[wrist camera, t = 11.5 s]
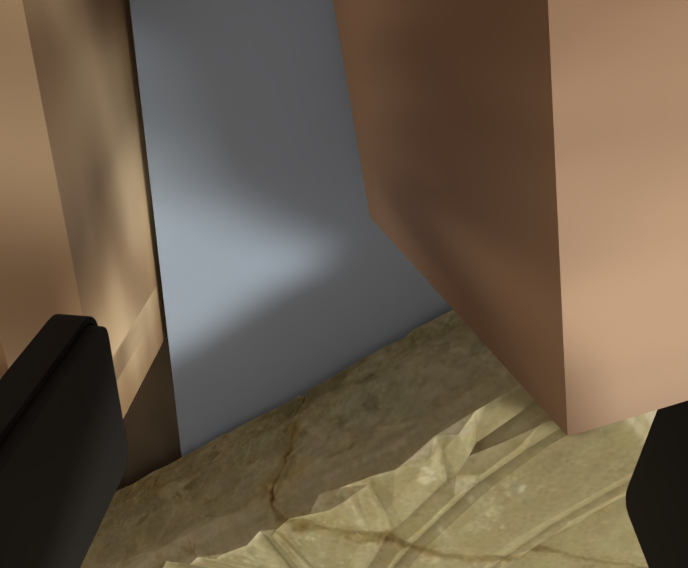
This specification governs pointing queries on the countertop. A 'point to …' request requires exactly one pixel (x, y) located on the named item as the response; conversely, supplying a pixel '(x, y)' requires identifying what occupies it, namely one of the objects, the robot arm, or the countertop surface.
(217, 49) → the slate-blue mat
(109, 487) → the robot arm
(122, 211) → the oak rack
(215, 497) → the decorative tile
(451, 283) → the brown wooden block
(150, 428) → the countertop surface
